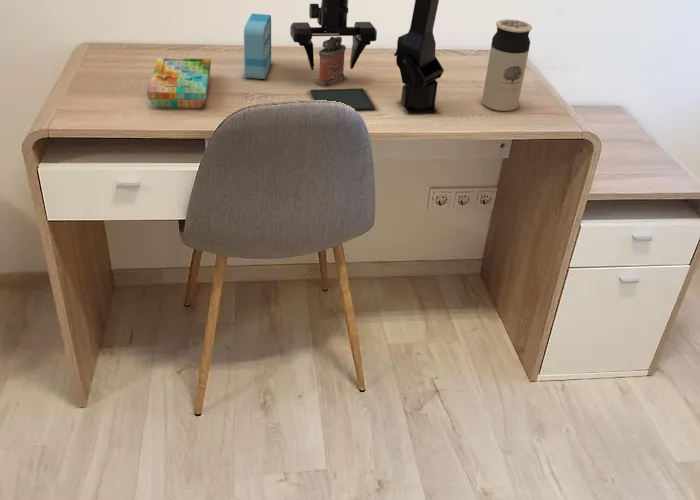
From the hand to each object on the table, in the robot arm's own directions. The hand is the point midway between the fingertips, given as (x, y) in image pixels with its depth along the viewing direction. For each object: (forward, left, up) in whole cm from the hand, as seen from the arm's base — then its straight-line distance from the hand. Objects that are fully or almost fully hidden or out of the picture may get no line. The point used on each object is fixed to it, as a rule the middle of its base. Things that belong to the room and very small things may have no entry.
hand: (331, 68), depth 171 cm
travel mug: (-35, +17, -3) cm, 39 cm away
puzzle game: (+34, +4, -3) cm, 34 cm away
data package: (+16, -7, -3) cm, 18 cm away
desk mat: (0, +12, -3) cm, 12 cm away
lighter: (0, 0, -3) cm, 3 cm away
